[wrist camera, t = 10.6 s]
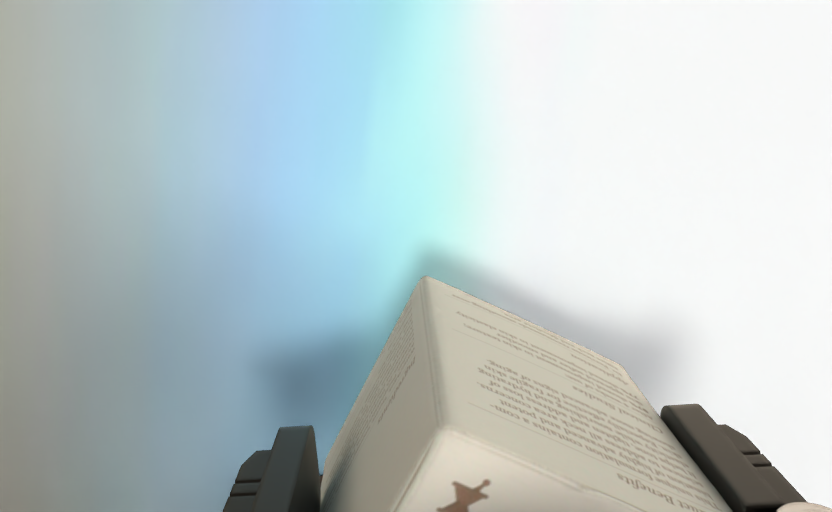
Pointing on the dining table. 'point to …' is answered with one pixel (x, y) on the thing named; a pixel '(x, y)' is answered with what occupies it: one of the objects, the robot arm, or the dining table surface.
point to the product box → (502, 424)
